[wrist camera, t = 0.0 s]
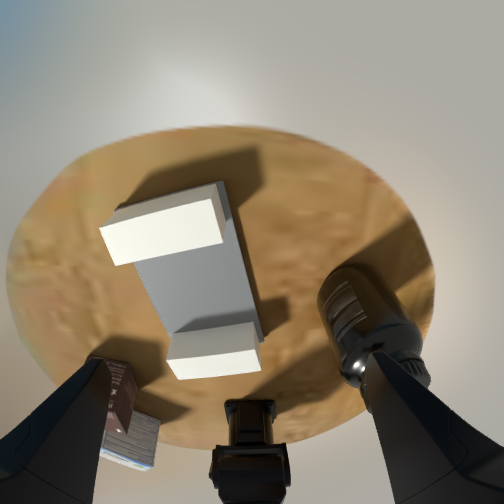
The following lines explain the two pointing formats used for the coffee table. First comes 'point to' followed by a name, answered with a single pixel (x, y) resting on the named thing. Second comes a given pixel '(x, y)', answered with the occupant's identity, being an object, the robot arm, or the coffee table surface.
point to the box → (120, 396)
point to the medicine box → (133, 443)
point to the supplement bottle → (368, 325)
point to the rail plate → (192, 278)
